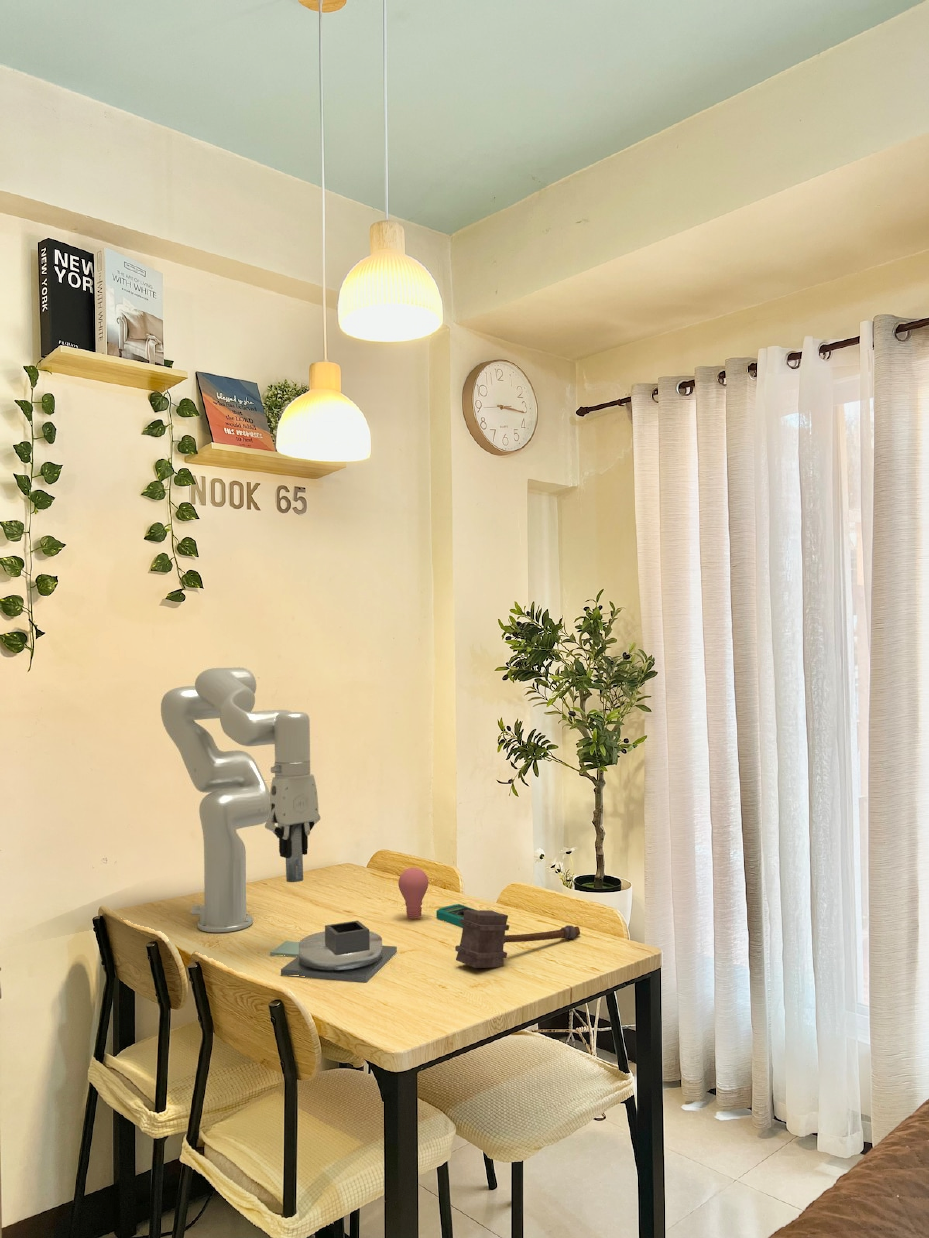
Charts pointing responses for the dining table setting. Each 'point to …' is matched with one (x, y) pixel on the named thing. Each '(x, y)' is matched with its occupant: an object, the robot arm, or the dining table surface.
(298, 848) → the chrome capsule
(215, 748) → the robot arm
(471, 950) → the hammer
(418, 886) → the light bulb
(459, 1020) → the dining table surface
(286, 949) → the mat
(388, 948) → the base
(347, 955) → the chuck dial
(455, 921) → the digital multimeter
